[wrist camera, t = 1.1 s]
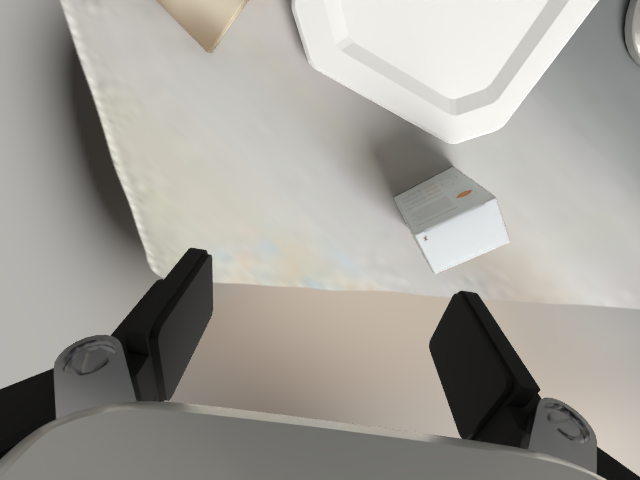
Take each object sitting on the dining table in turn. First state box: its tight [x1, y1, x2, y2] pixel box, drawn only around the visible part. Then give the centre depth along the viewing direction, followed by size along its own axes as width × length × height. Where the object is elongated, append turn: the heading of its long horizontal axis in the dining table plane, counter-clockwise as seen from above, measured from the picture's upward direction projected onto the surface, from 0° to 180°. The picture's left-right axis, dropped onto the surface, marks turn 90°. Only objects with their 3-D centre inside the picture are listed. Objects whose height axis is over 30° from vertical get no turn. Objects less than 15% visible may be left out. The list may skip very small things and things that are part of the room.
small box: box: [394, 167, 510, 274], centre depth 33 cm, size 8×6×10 cm
